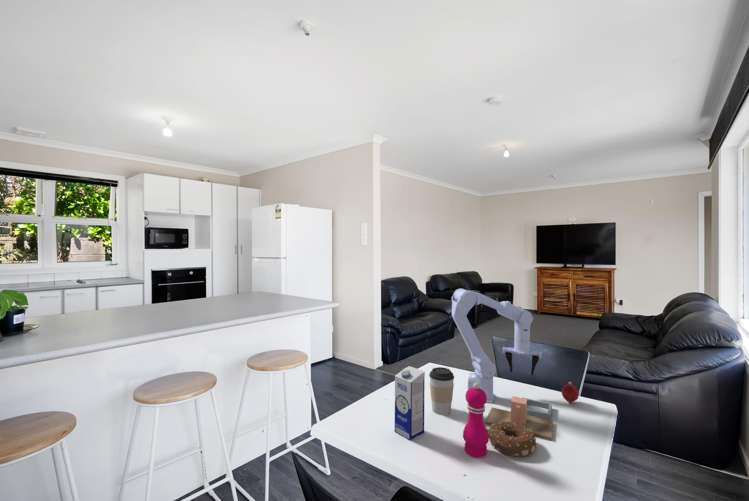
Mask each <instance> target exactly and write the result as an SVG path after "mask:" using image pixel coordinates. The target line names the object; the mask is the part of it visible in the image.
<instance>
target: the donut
mask: <svg viewBox="0 0 749 501" xmlns="http://www.w3.org/2000/svg"><path fill="white" fill-rule="evenodd" d="M486 429H487V428H486ZM487 432H488V436H489V442H490V444H491V446H492V447H494V448H495V449H497V450H498V451H499V452H502V453H503V454H506V455H508V456H513V457H514V456H515V457H525V456H528V455H531V454H532V453H533V452H535V450H536V449H537V437H535V436H534V435H533V434H532V433H531V431H530V430H529V429H527V428H526V427H525V426H522V425H520V424H518V423H517V424H515V423H511V422H507V421H502V422H497V423H493V425H491V426H490V427H489V428H488V429H487Z"/></svg>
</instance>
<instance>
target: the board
mask: <svg viewBox="0 0 749 501" xmlns="http://www.w3.org/2000/svg"><path fill="white" fill-rule="evenodd" d="M488 412H489V413H488V414H487V417H486V418H485V419H484V424H485V426H490V427H491V425H493V423H497V422H502V421H507V422H511V410H506V409H501V408H497V407H494V406H493V407H491V408H490V410H489V411H488ZM511 423H513V422H511ZM515 424H517V423H515ZM520 425H521V424H520ZM522 426H525V427H526V428H527V429H529V430H530V431H531V433H532V434H533V435H534V436H535V438H539V439H543V440H547V441H550V442H551V441H552V439H553V438H552V437H553V428H554V420H552V419H551V420H547V419H543V418H538V417H534V416H529V415H527V422H526V425H522Z"/></svg>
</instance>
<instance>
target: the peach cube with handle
mask: <svg viewBox="0 0 749 501" xmlns="http://www.w3.org/2000/svg"><path fill="white" fill-rule="evenodd" d="M524 398H525V397H518V396H514V395H513V396H512V398H511V401H510V411H511V422H513V423H518V424H521V425H526V422H527V409H528V404H527V399H528V398H527V399H524Z"/></svg>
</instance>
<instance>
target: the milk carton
mask: <svg viewBox="0 0 749 501" xmlns="http://www.w3.org/2000/svg"><path fill="white" fill-rule="evenodd" d="M425 372H426V371H424V370H422V369H420V368H416V367H414V366H410V365H408V366H407V367H405V368H403V369H402V370H401V371H399V372H398V373H396V374H395V375H394V432H395V433H396V434H398V435H399V436H402V437H403V438H405V439H407V440H408V441H411V440H413V439H415V438H417V437H420V436H421V435H423V434H425V387H426V386H425V384H426V383H425V378H426V377H425V374H426V373H425Z"/></svg>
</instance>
